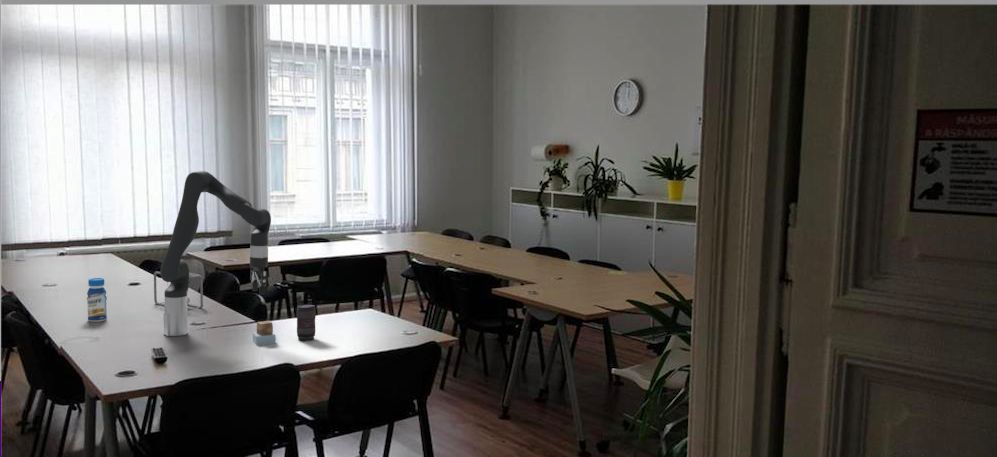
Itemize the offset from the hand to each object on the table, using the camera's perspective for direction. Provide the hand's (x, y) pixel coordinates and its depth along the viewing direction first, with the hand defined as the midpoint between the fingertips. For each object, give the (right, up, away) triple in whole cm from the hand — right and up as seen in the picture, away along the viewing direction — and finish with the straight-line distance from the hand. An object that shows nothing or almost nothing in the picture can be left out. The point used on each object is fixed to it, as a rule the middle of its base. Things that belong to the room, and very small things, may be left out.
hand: (258, 292), depth 342 cm
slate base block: (+2, -22, +1) cm, 22 cm away
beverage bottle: (-88, -16, +37) cm, 97 cm away
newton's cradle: (-65, -13, +74) cm, 99 cm away
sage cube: (0, -20, +11) cm, 23 cm away
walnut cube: (+3, -18, 0) cm, 18 cm away
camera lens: (+19, -21, +7) cm, 29 cm away
